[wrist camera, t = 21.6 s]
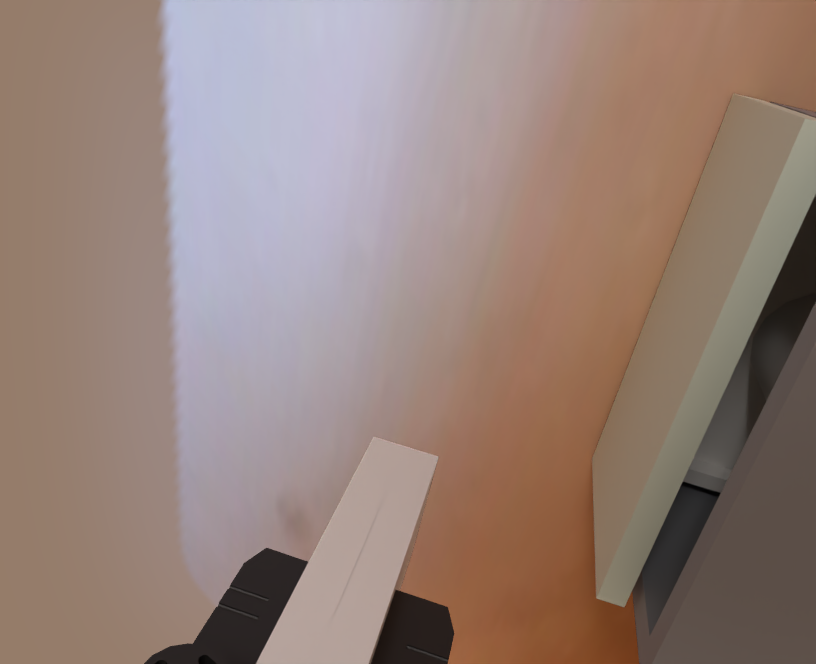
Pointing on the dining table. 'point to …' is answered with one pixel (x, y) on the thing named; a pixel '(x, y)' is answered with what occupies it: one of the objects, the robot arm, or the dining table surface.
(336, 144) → the dining table surface
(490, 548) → the dining table surface
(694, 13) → the dining table surface
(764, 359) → the white cup
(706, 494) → the cabinet
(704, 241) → the drawer
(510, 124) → the dining table surface
